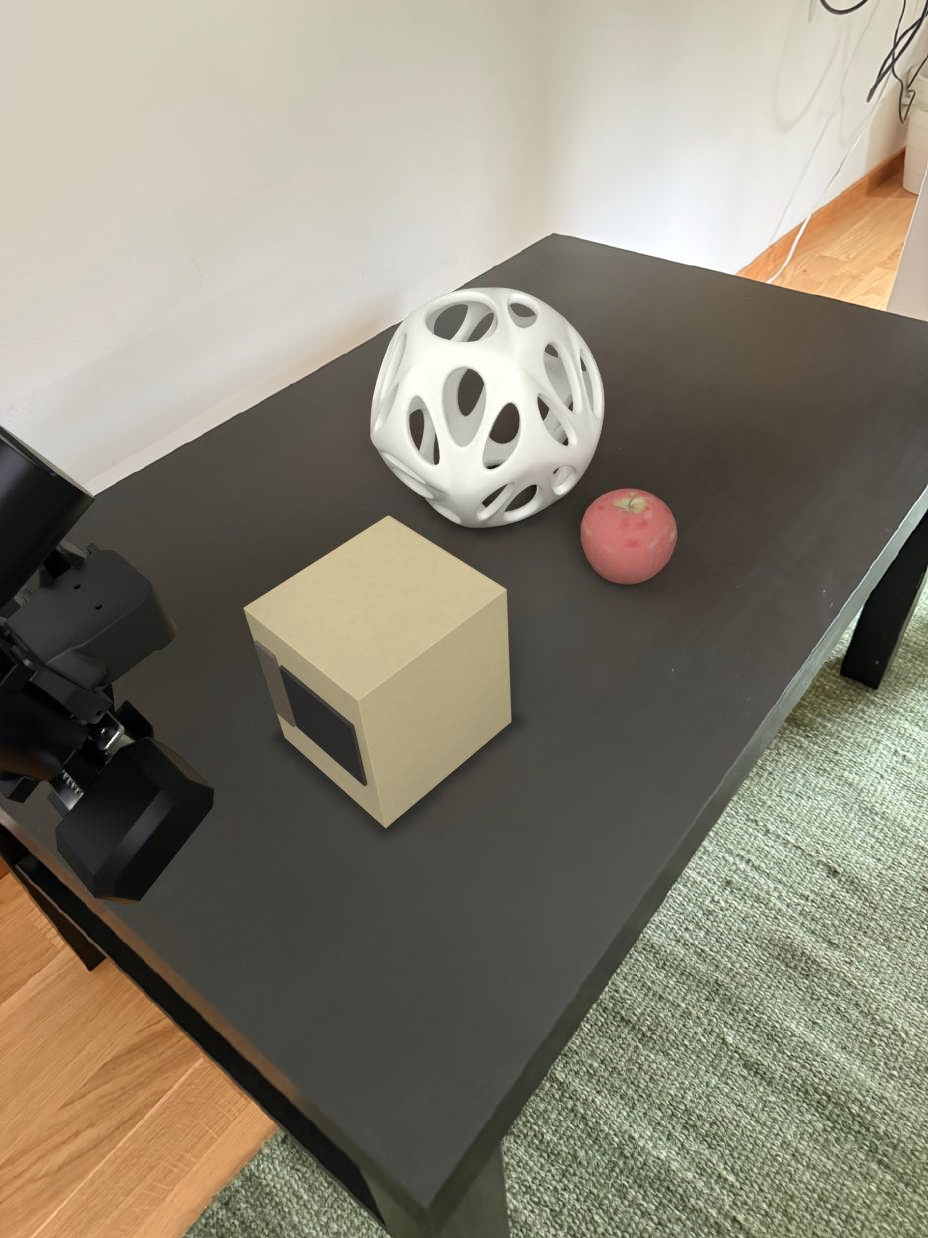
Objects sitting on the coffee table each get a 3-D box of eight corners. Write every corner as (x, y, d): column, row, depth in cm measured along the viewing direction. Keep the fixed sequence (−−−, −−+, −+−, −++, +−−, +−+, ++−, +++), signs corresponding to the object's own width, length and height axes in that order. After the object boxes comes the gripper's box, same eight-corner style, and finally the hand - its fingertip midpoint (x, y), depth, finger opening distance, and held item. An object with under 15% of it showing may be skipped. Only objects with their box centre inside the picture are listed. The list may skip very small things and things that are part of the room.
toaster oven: (382, 831, 60) (354, 703, 51) (281, 739, 66) (239, 609, 57) (511, 721, 66) (507, 589, 57) (408, 646, 72) (388, 514, 63)
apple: (628, 531, 80) (634, 454, 74) (689, 577, 75) (701, 498, 70) (560, 567, 77) (562, 490, 71) (619, 616, 73) (626, 538, 67)
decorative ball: (384, 577, 78) (354, 394, 65) (377, 442, 92) (351, 271, 79) (621, 551, 78) (635, 365, 66) (578, 421, 92) (583, 247, 80)
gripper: (173, 634, 34) (369, 750, 47) (-39, 445, 44) (172, 584, 57) (-26, 883, 33) (231, 930, 46) (-198, 631, 43) (54, 729, 56)
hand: (170, 774), depth 51 cm, fingers closed
